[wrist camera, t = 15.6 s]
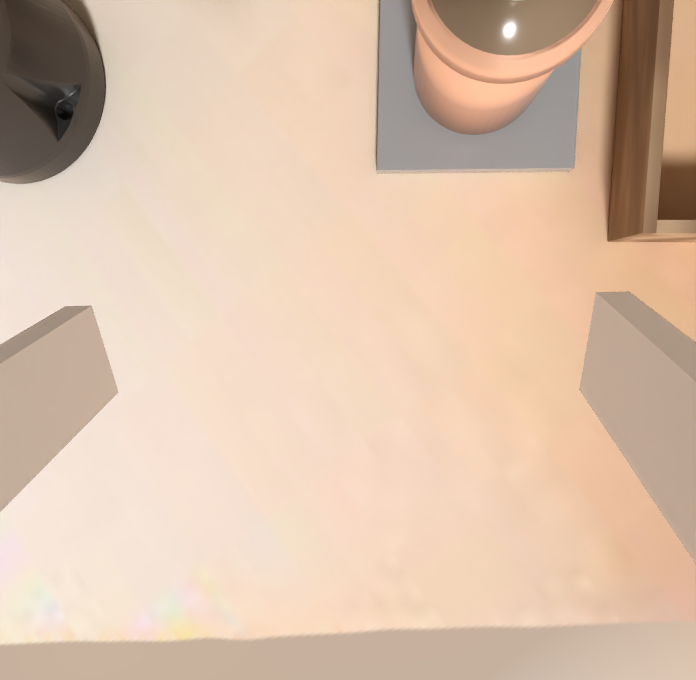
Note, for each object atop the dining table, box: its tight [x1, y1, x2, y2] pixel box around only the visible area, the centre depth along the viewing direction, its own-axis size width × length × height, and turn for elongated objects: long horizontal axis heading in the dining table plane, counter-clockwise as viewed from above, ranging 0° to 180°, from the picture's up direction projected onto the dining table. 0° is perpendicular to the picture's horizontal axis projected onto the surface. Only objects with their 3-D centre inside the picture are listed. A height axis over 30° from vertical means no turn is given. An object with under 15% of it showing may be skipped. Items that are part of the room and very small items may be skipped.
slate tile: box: [377, 0, 581, 173], centre depth 34 cm, size 14×14×1 cm
